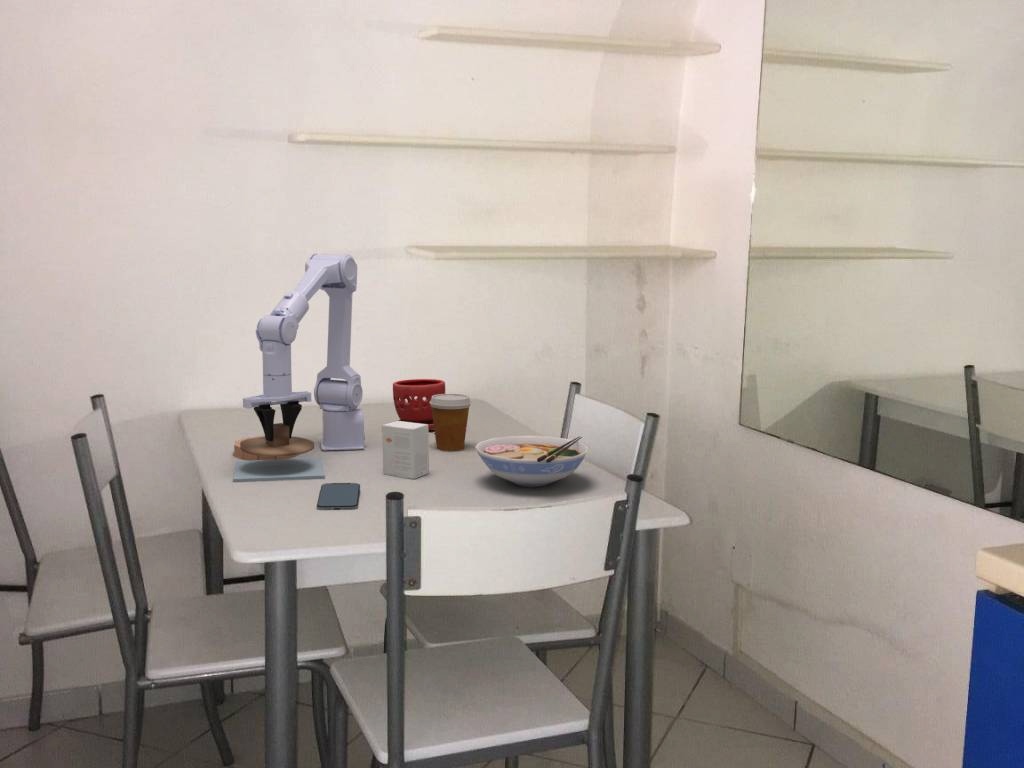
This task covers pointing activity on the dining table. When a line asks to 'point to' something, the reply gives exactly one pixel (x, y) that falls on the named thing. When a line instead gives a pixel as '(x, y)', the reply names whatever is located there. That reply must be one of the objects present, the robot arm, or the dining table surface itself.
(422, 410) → the plant pot
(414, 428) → the small box
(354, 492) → the smartphone
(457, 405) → the disposable coffee cup
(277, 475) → the mat
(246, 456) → the dish
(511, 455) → the ramen bowl
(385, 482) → the dining table surface
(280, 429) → the lid
